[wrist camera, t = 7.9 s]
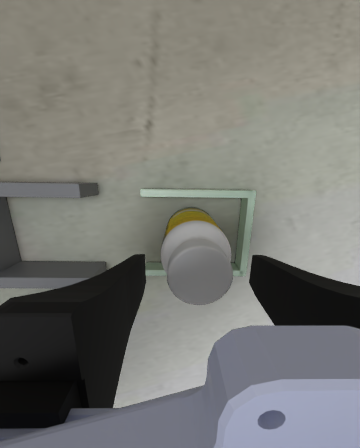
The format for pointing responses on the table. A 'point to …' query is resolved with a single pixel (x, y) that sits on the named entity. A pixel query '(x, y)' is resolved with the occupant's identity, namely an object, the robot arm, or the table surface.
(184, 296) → the supplement bottle
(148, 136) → the table surface
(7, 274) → the frame
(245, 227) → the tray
